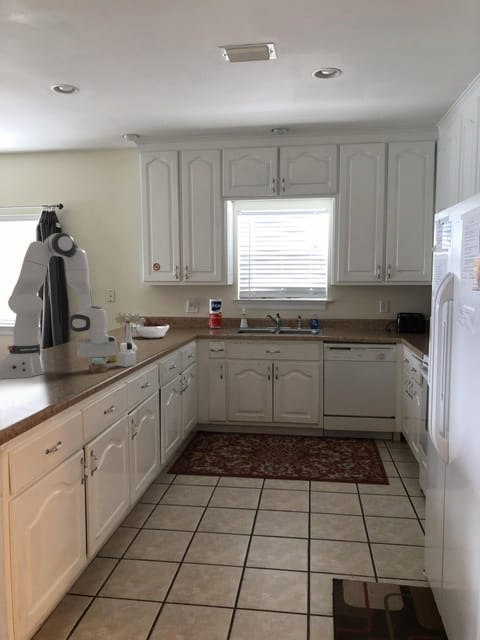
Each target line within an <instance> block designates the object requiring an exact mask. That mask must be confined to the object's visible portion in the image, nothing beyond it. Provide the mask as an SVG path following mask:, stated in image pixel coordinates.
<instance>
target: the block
mask: <svg viewBox="0 0 480 640" xmlns="http://www.w3.org/2000/svg"><path fill="white" fill-rule="evenodd" d="M88 372H90V373H92V374H98V373H99V374H101V373H107V372H108V365H104V364H94V365H90V364H89V365H88Z"/></svg>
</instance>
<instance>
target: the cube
mask: <svg viewBox="0 0 480 640" xmlns="http://www.w3.org/2000/svg"><path fill="white" fill-rule="evenodd" d="M105 359H106V358H103V357H96V358H92V360H91V362H93V363H94V364H104V365H105Z"/></svg>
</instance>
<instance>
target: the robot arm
mask: <svg viewBox="0 0 480 640" xmlns="http://www.w3.org/2000/svg"><path fill="white" fill-rule="evenodd" d="M52 257H61V258H62V259H63V261H64V264H65V277H66V281H67V284H68V285H69V286H70V287H71V288H72V289H73V290H74V291H75V292H76V293H77V297H78V304H79V312H77V313H74V314H72V315H71V316H70V317H69V319H68V326H69V328H70V329H71V331H73V332H75V333H82V332H88V338H85V339H79V340H78V341H77V342H76V347H77V350H76V356H77V358H79V359H87V360H88V362H89V365H94V363H93V362H92V359H94V358H103V357H104V359H105V365H106V366H108V365H107V364H108V363H107V362H109V361H108V359H109V356H117V355H118V354H119V350H118V344H117V343H116V342H117V337H115V336H112V335H109V334H108V331H107V325H108V320H107V311H106V309H105V308H103V307H102V306H95V305H94V306H93V300H92V291H91V284H90V268H89V267H90V265H89V260H88V256H87V252H86V250H85V249H83V248H80V247H78V245H77V243H76V242H75V239H74V238H73V237H72V236H71V235H70V234H69V233H66V232H57V233H53V234H51V235H48V236H47V237H45V239H44V240H43V241H40V240H36V241H32V242H30V243H29V245H28V247H27V250H26V252H25V255H24V257H23V260H22V265H21V268H20V272H19V275H18V278H17V280H16V281H17V282H16V284H15V286H14V287H13V290H12V292H11V295H10V296H9V298H8V300H7V305H8V308H9V309H10V310H11V312H13V313H14V314H16V315H15V321H14V326H13V328H12V329H13V330H12V331H13V345H8V346H7V350H9V351H8V352H9V353H8V354H7V355H6V356H5V357H3V358H2V359H1V360H0V380H3V379H5V380H6V379H7V380H8V379H19V378H20V379H21V378H23V379H25V378H33V377H36V376H40V375H43V374H44V370H43V366H42V362H41V344H40V331H39V330H40V329H39V328H40V321H41V315H42V311H43V309H44V302H43V301H44V300H42V298H41V297H40V296H39V295H38V293H40V292H39V291H40V289H41V288H42V286H43V285H44V283H45V279H46V276H47V270H48V267H49V262H50V260H51V258H52Z"/></svg>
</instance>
